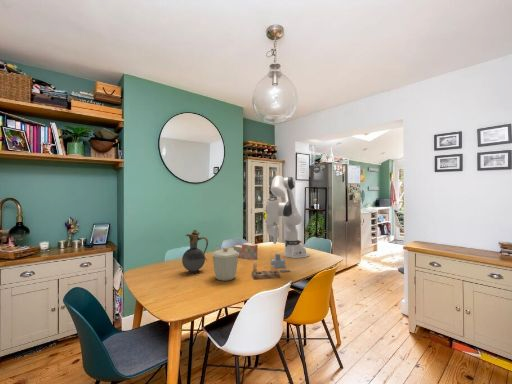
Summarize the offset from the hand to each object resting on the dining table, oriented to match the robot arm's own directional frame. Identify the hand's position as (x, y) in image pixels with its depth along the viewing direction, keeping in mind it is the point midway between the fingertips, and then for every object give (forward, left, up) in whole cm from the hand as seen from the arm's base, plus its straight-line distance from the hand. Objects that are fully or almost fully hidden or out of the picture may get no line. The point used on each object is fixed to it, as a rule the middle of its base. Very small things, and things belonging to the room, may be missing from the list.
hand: (272, 242), depth 166 cm
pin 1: (+10, -13, -23) cm, 28 cm away
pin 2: (0, 0, -23) cm, 23 cm away
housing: (-9, -18, -23) cm, 31 cm away
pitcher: (+52, -19, -23) cm, 60 cm away
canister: (+32, -2, -23) cm, 40 cm away
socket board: (+5, 0, -23) cm, 24 cm away
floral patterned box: (+11, -49, -24) cm, 56 cm away
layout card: (-11, -7, -23) cm, 27 cm away
